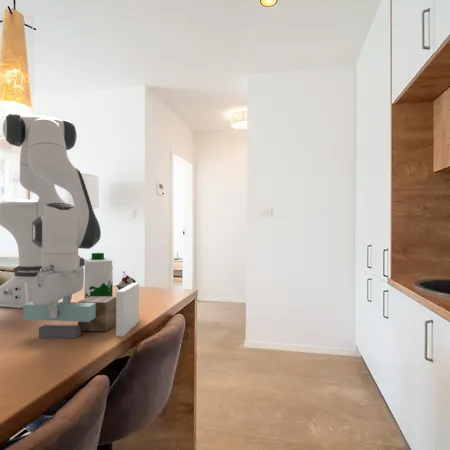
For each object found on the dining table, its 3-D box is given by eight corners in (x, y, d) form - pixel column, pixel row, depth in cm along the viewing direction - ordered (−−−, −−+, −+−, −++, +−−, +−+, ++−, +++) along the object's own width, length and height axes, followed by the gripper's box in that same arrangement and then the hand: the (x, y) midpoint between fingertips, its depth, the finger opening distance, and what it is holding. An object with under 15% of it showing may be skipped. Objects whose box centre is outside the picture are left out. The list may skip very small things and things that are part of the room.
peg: (23, 319, 94) (23, 304, 94) (32, 315, 98) (32, 300, 98) (89, 321, 93) (89, 306, 93) (95, 317, 97) (95, 303, 97)
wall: (116, 336, 95) (116, 291, 95) (132, 321, 109) (132, 282, 109) (123, 336, 95) (123, 291, 95) (139, 321, 109) (139, 282, 109)
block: (77, 330, 99) (78, 301, 99) (90, 322, 107) (90, 296, 106) (105, 331, 98) (106, 302, 98) (116, 323, 106) (116, 296, 106)
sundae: (117, 320, 111) (117, 272, 111) (114, 314, 117) (114, 269, 117) (138, 317, 113) (138, 271, 113) (134, 313, 119) (135, 268, 119)
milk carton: (109, 308, 126) (109, 252, 126) (114, 314, 118) (114, 254, 118) (83, 311, 122) (83, 253, 122) (86, 317, 114) (86, 255, 114)
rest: (38, 337, 93) (38, 327, 93) (45, 333, 96) (45, 324, 96) (75, 338, 93) (75, 328, 93) (80, 334, 96) (80, 325, 96)
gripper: (51, 269, 84) (50, 326, 85) (88, 259, 105) (87, 305, 105) (25, 268, 85) (24, 325, 85) (67, 258, 105) (66, 304, 105)
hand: (59, 314), depth 95 cm, fingers closed on peg, 4 cm apart
